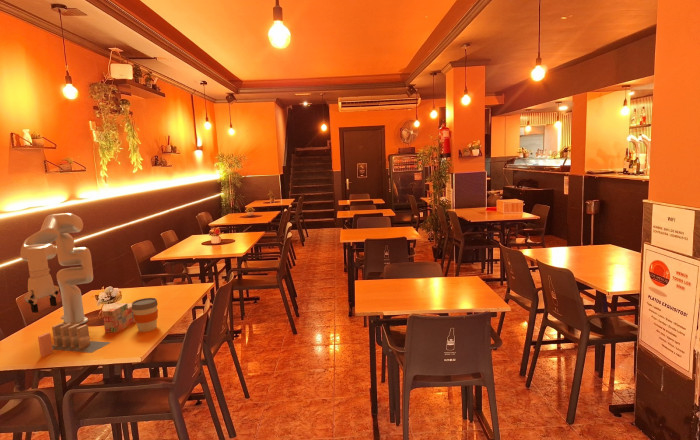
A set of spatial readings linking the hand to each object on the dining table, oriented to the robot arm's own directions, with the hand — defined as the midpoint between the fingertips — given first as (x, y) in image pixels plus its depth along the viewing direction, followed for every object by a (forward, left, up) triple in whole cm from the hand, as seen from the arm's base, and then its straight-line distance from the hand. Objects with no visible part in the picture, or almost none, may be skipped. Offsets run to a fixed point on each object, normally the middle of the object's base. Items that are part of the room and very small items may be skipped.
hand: (44, 309), depth 216 cm
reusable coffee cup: (+26, +35, -22) cm, 49 cm away
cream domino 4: (+11, +9, -22) cm, 26 cm away
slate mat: (+7, +9, -22) cm, 25 cm away
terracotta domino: (0, -2, -22) cm, 22 cm away
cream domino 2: (+1, +9, -22) cm, 23 cm away
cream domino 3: (+6, +9, -22) cm, 24 cm away
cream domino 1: (-4, +9, -22) cm, 24 cm away
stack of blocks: (+8, +37, -22) cm, 44 cm away
